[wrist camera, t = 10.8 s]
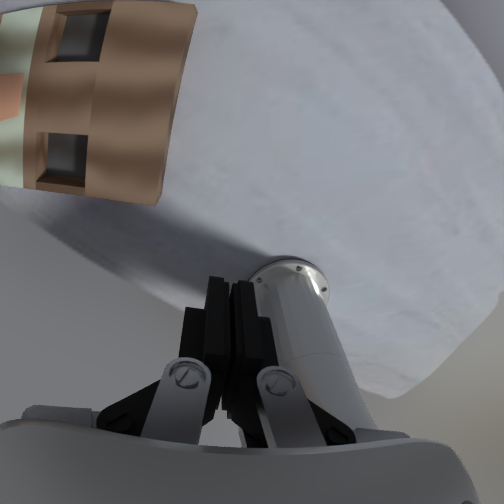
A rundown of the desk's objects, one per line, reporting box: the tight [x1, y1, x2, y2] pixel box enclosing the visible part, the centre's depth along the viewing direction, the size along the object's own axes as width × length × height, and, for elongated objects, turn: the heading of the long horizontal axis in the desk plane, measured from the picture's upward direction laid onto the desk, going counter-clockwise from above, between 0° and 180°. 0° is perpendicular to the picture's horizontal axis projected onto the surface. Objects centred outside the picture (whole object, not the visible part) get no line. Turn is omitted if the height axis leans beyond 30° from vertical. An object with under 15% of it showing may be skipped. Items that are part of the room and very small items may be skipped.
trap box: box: [0, 0, 198, 206], centre depth 27 cm, size 22×25×6 cm
